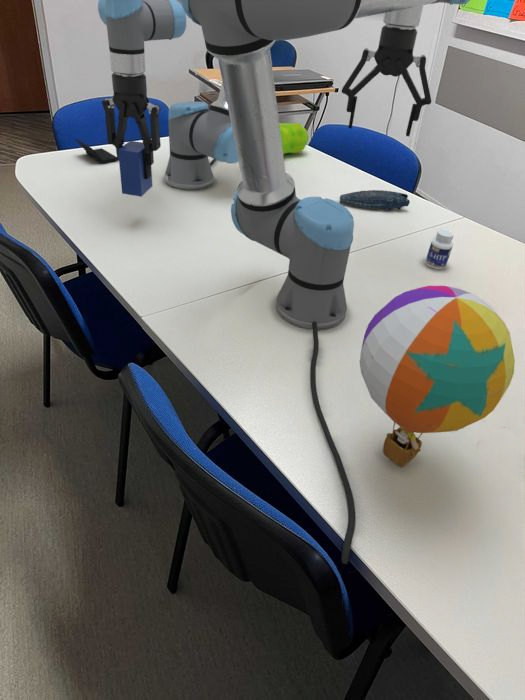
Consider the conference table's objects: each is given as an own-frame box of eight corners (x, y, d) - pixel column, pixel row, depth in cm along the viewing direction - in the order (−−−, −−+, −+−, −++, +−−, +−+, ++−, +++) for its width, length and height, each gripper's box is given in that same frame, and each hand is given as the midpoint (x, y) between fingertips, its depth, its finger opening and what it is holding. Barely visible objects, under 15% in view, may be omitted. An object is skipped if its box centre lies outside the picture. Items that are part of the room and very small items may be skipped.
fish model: (408, 214, 157) (412, 198, 153) (339, 207, 158) (341, 191, 154) (406, 206, 162) (410, 190, 159) (339, 199, 163) (341, 183, 160)
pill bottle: (423, 266, 132) (433, 234, 126) (426, 257, 136) (435, 226, 130) (444, 271, 131) (455, 239, 125) (446, 262, 135) (457, 230, 129)
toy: (310, 447, 82) (343, 285, 63) (387, 396, 93) (435, 245, 74) (411, 535, 71) (486, 371, 52) (485, 466, 82) (569, 309, 63)
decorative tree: (224, 117, 189) (303, 117, 195) (224, 146, 196) (301, 145, 201) (231, 131, 176) (316, 130, 181) (230, 162, 182) (313, 160, 188)
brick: (152, 186, 136) (150, 143, 129) (141, 196, 130) (138, 152, 123) (133, 183, 136) (130, 140, 129) (122, 193, 130) (117, 149, 124)
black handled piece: (122, 153, 174) (102, 132, 166) (111, 171, 173) (90, 150, 165) (101, 149, 181) (81, 128, 172) (90, 166, 179) (69, 146, 171)
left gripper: (173, 74, 118) (176, 175, 133) (97, 65, 120) (108, 165, 135) (161, 81, 112) (165, 186, 127) (82, 71, 114) (95, 175, 129)
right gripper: (458, 31, 111) (431, 133, 125) (343, 18, 114) (328, 119, 127) (461, 35, 106) (432, 142, 119) (340, 21, 108) (325, 127, 122)
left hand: (136, 175), depth 131 cm, fingers closed on brick, 5 cm apart
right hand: (378, 131), depth 123 cm, fingers open, 13 cm apart
